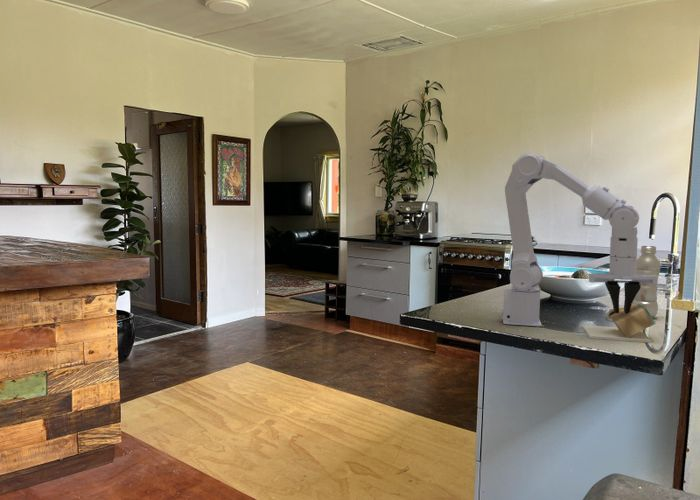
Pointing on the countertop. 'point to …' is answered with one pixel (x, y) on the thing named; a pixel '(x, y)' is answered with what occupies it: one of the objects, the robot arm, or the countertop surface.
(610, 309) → the pastry
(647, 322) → the tan green block
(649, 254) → the plastic bottle
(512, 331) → the countertop surface
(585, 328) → the mat
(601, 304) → the countertop surface
